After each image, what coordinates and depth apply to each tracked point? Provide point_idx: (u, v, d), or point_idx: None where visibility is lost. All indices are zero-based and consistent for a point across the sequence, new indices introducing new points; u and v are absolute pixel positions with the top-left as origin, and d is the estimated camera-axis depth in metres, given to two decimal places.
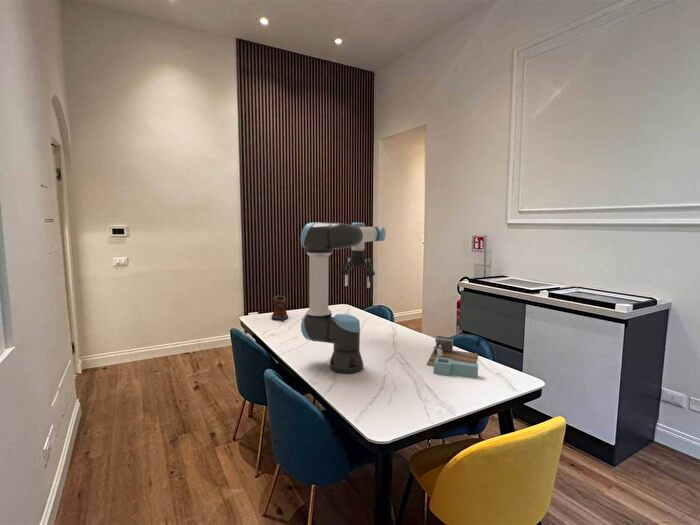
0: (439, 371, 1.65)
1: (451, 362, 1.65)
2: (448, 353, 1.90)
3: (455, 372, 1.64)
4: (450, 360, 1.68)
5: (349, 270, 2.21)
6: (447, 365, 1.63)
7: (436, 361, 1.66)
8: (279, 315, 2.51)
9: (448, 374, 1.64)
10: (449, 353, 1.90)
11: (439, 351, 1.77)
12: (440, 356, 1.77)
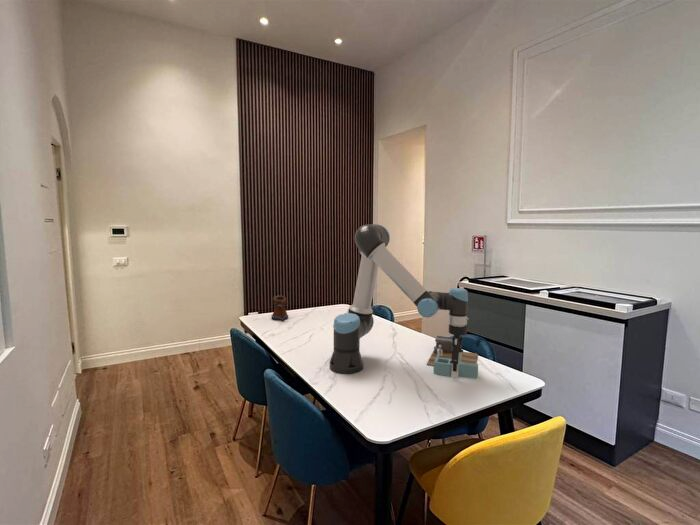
0: (439, 371, 1.65)
1: None
2: (448, 353, 1.90)
3: None
4: (450, 360, 1.68)
5: (460, 348, 1.69)
6: (447, 365, 1.63)
7: (436, 361, 1.66)
8: (279, 315, 2.51)
9: (448, 374, 1.64)
10: (449, 353, 1.90)
11: (439, 351, 1.77)
12: (440, 356, 1.77)
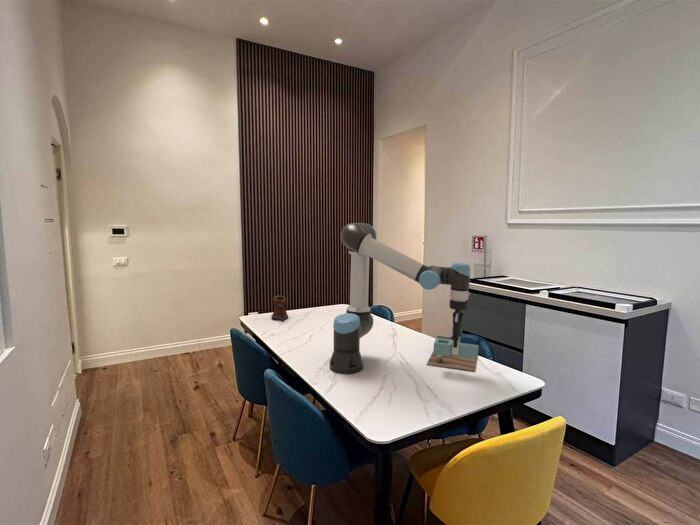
0: (439, 351, 1.64)
1: (451, 343, 1.65)
2: None
3: None
4: (450, 341, 1.67)
5: (459, 329, 1.65)
6: (447, 345, 1.63)
7: (436, 342, 1.66)
8: (279, 315, 2.51)
9: (448, 354, 1.63)
10: None
11: None
12: (440, 356, 1.77)
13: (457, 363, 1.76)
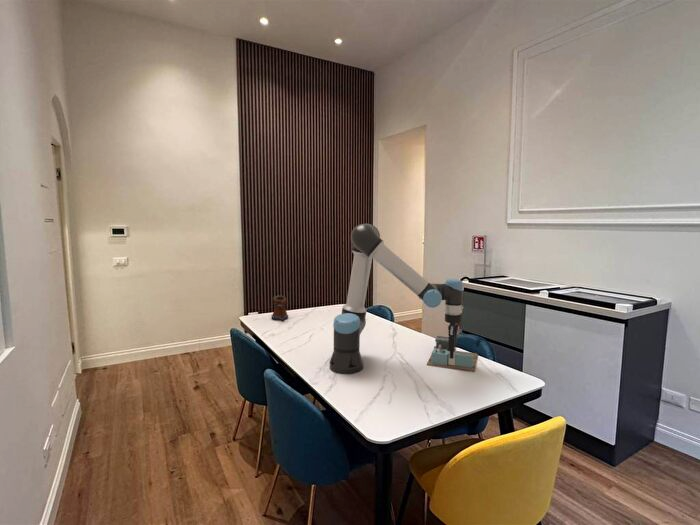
0: (436, 361, 1.75)
1: (448, 353, 1.76)
2: None
3: None
4: (447, 351, 1.78)
5: (455, 341, 1.77)
6: (444, 355, 1.74)
7: (434, 352, 1.77)
8: (279, 315, 2.51)
9: (445, 364, 1.74)
10: None
11: (439, 351, 1.77)
12: None
13: None
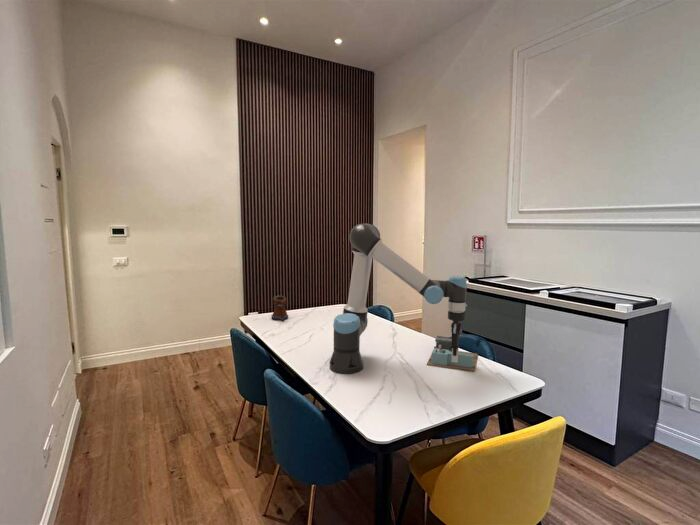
0: (436, 361, 1.75)
1: (448, 352, 1.76)
2: None
3: (452, 362, 1.74)
4: (447, 351, 1.78)
5: (458, 340, 1.72)
6: (444, 355, 1.74)
7: (434, 352, 1.77)
8: (279, 315, 2.51)
9: (445, 364, 1.74)
10: None
11: (439, 351, 1.77)
12: None
13: None
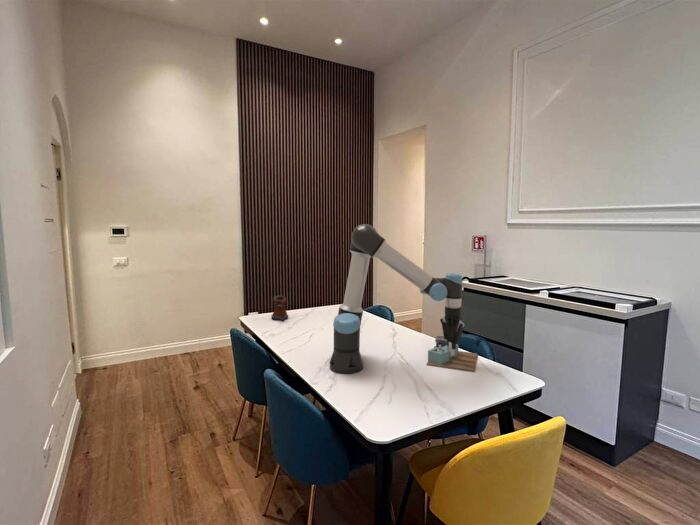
0: (443, 360, 1.76)
1: (444, 349, 1.81)
2: None
3: None
4: None
5: (452, 333, 1.82)
6: (447, 352, 1.78)
7: None
8: (279, 315, 2.51)
9: (448, 360, 1.79)
10: None
11: (439, 351, 1.77)
12: None
13: (457, 363, 1.76)
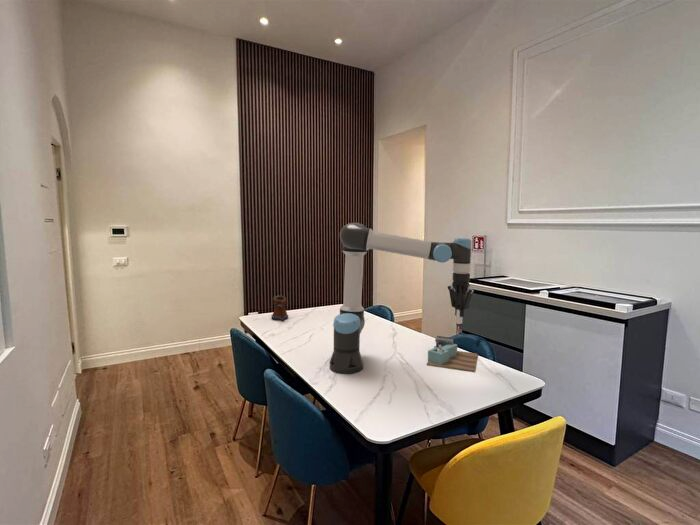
0: (443, 360, 1.76)
1: (443, 349, 1.81)
2: None
3: None
4: (438, 348, 1.82)
5: (460, 301, 1.75)
6: (447, 352, 1.78)
7: None
8: (279, 315, 2.51)
9: (448, 360, 1.79)
10: None
11: (439, 351, 1.77)
12: None
13: (457, 363, 1.76)
